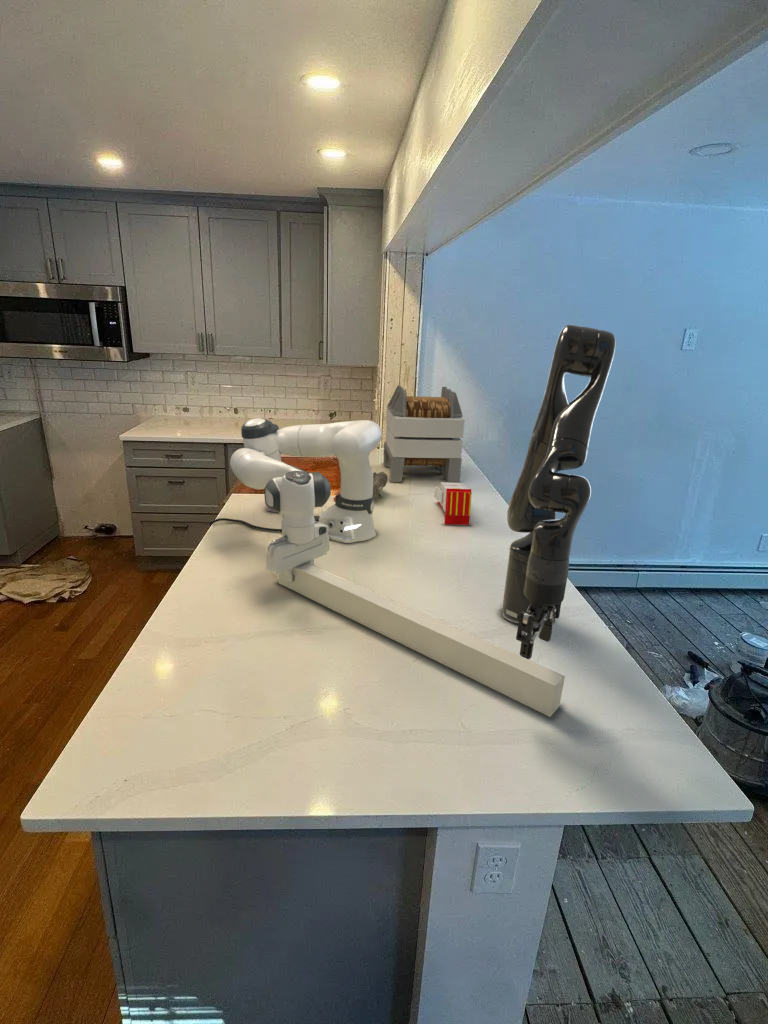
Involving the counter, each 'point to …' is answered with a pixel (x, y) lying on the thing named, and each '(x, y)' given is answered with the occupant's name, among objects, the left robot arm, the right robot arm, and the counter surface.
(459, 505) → the toy
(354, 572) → the counter surface
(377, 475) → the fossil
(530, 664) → the post
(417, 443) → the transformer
